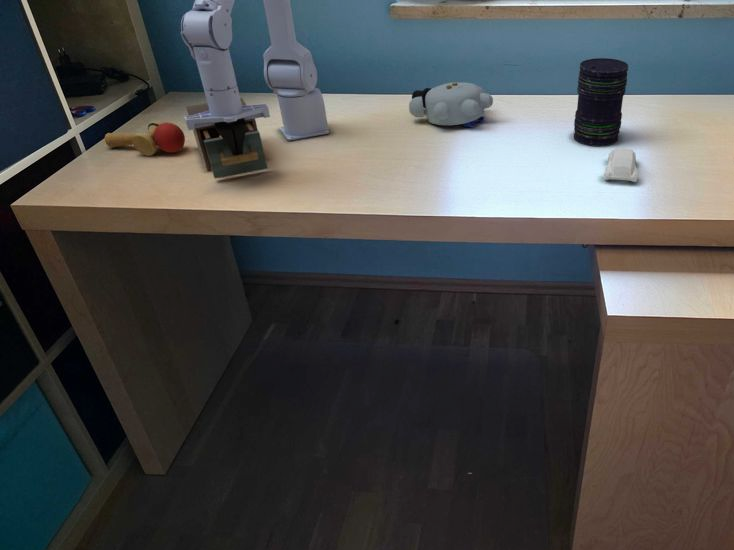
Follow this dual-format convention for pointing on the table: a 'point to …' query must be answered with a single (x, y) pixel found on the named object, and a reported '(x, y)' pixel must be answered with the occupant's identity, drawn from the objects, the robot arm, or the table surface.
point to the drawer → (224, 159)
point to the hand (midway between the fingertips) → (238, 160)
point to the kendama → (150, 138)
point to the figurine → (451, 104)
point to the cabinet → (197, 131)
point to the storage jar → (600, 101)
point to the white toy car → (621, 165)
